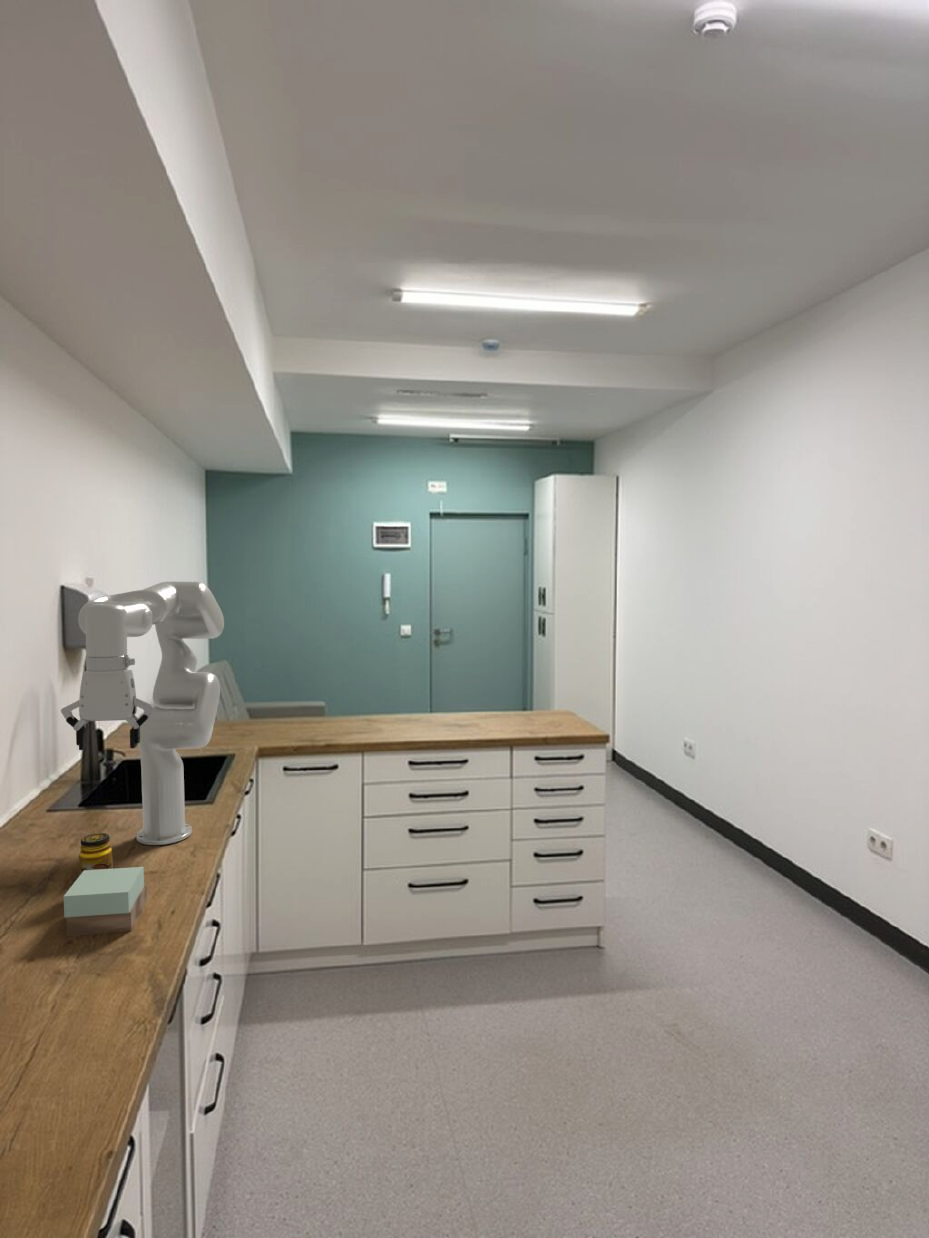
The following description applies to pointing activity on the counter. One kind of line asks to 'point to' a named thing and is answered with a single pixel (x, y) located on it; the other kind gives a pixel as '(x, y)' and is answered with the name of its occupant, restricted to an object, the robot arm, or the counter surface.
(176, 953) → the counter surface
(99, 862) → the condiment
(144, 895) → the bottom block
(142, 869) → the top block
